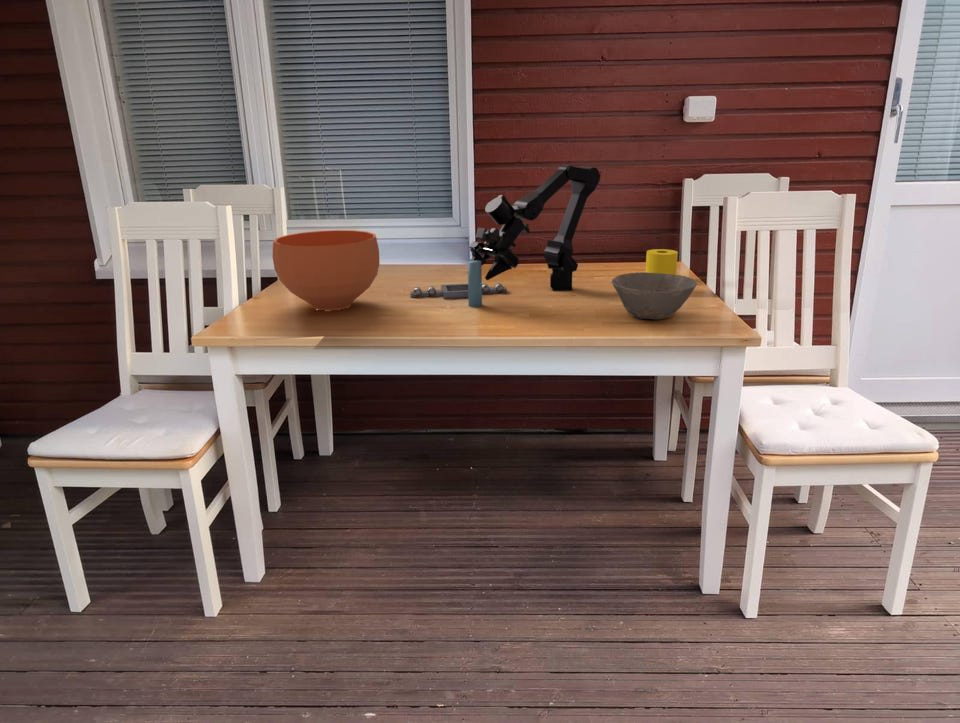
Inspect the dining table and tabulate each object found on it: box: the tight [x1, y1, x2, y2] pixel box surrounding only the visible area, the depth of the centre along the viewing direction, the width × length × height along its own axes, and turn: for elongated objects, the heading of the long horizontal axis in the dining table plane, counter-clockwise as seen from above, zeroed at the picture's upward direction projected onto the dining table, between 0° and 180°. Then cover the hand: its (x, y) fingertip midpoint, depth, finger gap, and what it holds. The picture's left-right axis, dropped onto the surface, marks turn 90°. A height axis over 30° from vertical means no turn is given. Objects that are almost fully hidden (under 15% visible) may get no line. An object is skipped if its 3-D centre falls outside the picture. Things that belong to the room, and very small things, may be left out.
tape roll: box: [644, 248, 679, 275], centre depth 219 cm, size 10×10×9 cm
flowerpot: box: [272, 229, 380, 311], centre depth 192 cm, size 30×30×20 cm
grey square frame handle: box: [409, 282, 508, 300], centre depth 207 cm, size 30×10×3 cm, turn 97°
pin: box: [467, 260, 483, 308], centre depth 192 cm, size 4×4×13 cm
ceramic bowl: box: [611, 272, 698, 321], centre depth 178 cm, size 22×23×10 cm
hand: (477, 276), depth 191 cm, fingers open, 9 cm apart
